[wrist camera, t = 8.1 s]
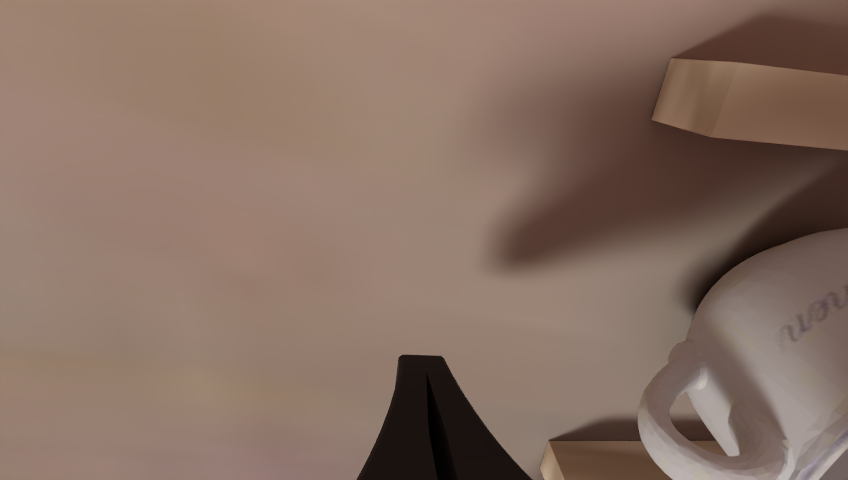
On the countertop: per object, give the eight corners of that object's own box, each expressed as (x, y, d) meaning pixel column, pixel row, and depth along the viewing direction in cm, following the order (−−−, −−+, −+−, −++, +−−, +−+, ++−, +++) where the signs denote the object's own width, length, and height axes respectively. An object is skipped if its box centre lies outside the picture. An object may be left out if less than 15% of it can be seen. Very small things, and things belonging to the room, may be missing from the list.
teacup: (932, 212, 18) (1311, 329, 10) (804, 404, 22) (1007, 579, 15) (625, 180, 16) (826, 296, 9) (552, 396, 20) (645, 592, 13)
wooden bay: (821, 464, 24) (875, 517, 22) (540, 467, 22) (561, 526, 20) (1079, 106, 16) (1220, 120, 13) (671, 58, 14) (739, 62, 11)
